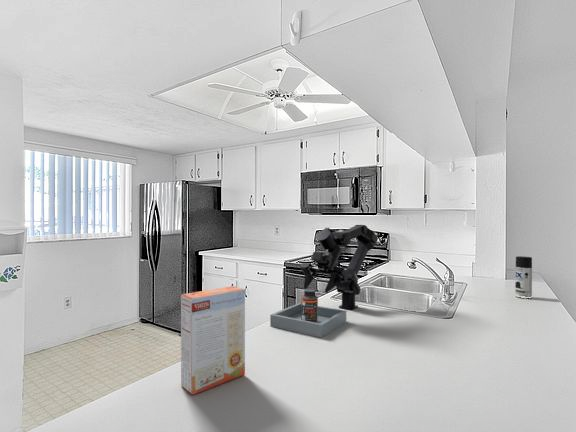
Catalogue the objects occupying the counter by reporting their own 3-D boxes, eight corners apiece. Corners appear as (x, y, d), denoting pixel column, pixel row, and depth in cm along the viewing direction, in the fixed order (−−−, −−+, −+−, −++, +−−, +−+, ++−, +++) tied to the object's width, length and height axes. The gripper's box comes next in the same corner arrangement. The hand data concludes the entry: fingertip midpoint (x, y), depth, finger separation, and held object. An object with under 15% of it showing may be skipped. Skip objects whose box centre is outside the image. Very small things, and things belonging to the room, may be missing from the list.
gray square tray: (299, 312, 133) (299, 302, 133) (346, 321, 123) (346, 310, 123) (270, 326, 117) (270, 314, 117) (321, 337, 106) (321, 325, 106)
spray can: (511, 296, 167) (512, 256, 167) (524, 295, 167) (524, 256, 167) (522, 299, 160) (522, 257, 160) (535, 299, 161) (535, 257, 161)
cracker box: (231, 367, 84) (232, 284, 84) (245, 375, 80) (246, 288, 80) (179, 385, 75) (180, 292, 75) (191, 396, 70) (192, 297, 70)
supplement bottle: (303, 324, 116) (304, 292, 116) (298, 319, 122) (299, 288, 122) (320, 323, 118) (320, 291, 118) (314, 318, 123) (314, 287, 123)
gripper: (302, 242, 132) (285, 274, 124) (344, 245, 121) (328, 280, 112) (313, 260, 139) (297, 291, 130) (354, 264, 127) (340, 299, 118)
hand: (314, 290), depth 122 cm, fingers open, 9 cm apart
